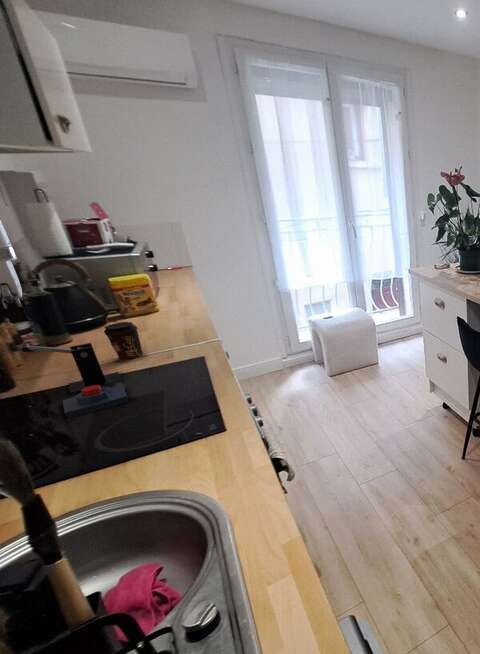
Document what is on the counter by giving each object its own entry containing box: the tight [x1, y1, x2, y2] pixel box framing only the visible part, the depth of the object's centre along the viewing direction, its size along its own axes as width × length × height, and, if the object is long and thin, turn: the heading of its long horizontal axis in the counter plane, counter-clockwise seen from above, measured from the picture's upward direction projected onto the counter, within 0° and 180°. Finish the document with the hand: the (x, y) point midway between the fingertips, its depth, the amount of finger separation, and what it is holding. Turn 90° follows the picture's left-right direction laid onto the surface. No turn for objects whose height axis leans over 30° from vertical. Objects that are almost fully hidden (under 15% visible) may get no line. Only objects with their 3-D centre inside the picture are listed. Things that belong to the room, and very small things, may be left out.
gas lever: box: [20, 342, 82, 354], centre depth 118 cm, size 13×5×2 cm, turn 139°
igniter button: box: [80, 385, 102, 396], centre depth 113 cm, size 4×4×2 cm
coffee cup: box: [103, 321, 144, 362], centre depth 142 cm, size 9×8×13 cm
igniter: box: [62, 384, 130, 419], centre depth 114 cm, size 12×10×4 cm
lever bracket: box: [68, 342, 123, 394], centre depth 123 cm, size 11×9×13 cm
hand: (20, 318), depth 111 cm, fingers open, 9 cm apart
